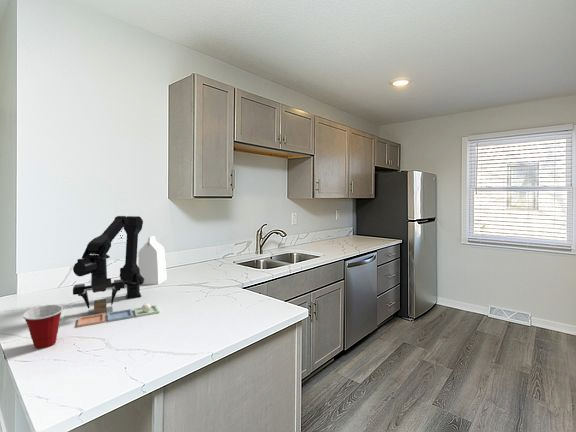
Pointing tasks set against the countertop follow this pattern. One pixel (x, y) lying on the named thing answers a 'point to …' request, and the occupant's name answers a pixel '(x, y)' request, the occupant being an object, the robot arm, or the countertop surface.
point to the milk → (152, 262)
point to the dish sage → (140, 312)
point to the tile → (91, 312)
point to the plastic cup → (43, 324)
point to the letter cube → (100, 306)
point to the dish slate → (120, 315)
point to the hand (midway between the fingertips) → (100, 306)
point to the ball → (146, 307)
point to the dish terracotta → (91, 320)
